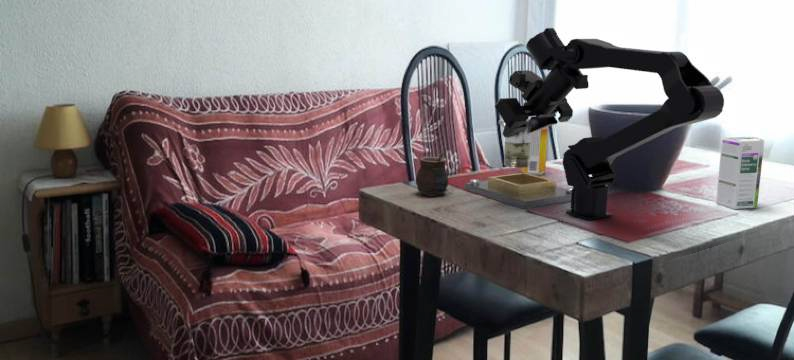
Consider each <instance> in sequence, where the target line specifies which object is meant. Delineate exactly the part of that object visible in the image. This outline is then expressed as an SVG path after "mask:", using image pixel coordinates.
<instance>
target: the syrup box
mask: <svg viewBox="0 0 794 360" xmlns="http://www.w3.org/2000/svg"><path fill="white" fill-rule="evenodd" d="M720 146H721V147H720V156H719V157H720V158H719V166H718V167H719V168H718V178H717V189H716V199H715V203H716V204H717V205H720V206H723V207H725V208H729V209H732V210H740V209H741V210H742V209H757V208H758V202H759V196H760V195H759V194H760V184H761V174H762V166H763V165H762V164H763V157H764V149H765V148H764V147H765V140H764V139H762V138H759V137H754V136H747V135H745V136H728V137H722V138H721V145H720Z"/></svg>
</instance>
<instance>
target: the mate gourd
mask: <svg viewBox="0 0 794 360" xmlns="http://www.w3.org/2000/svg"><path fill="white" fill-rule="evenodd" d="M445 153H446V152H444V153H442V154H441V155H440V156H439V157H438V156H424V157H420V158H419V160H420V161H419V162H420V163H419V164H420V168H419V169H418V170H417V173H416V177H415V184H416V187H417V190H418V192H419V193H421V194H422V195H423V196H426V197H427V196H428V197H437V196H441V195H443V194H444V193H445V192H446V191H447V188H448V185H449V176H448V174H447V171H446V166H445V165H446V159H445V158H443V157H444V155H445Z"/></svg>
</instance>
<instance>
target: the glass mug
mask: <svg viewBox="0 0 794 360" xmlns="http://www.w3.org/2000/svg"><path fill="white" fill-rule="evenodd" d="M531 122H532V120H531V119H528V120H527V121H526V122H525V124H526V126H527V127H526V128H524V129H522V130H520V131H518V132H516V133H514V134H512V135H510V136H508V137H504V149H503V150H504V152H503V157H504V158H503V166H505V167H509V168H516V169H518V168H520V169H521V168H524V167H529V165H530V149H531ZM498 124H499V125H500V126H501V127H502V128H503V129H504V127H505V122H504V120H503V119H499V120H498Z"/></svg>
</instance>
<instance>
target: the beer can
mask: <svg viewBox="0 0 794 360" xmlns="http://www.w3.org/2000/svg"><path fill="white" fill-rule="evenodd" d="M530 118H531V117H529V119H530ZM548 128H549V126H548V127H545V128H543V129H540V130H537V131H534V132H532V133H531V149H530V165H529V167H524V168H520V171H521V173H528V174H532V175H535V176H543V175H544V173H545V172H546V168H547V167H546V166H547V165H546V164H547V147H548V146H547V145H548V134H549V133H548Z"/></svg>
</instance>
